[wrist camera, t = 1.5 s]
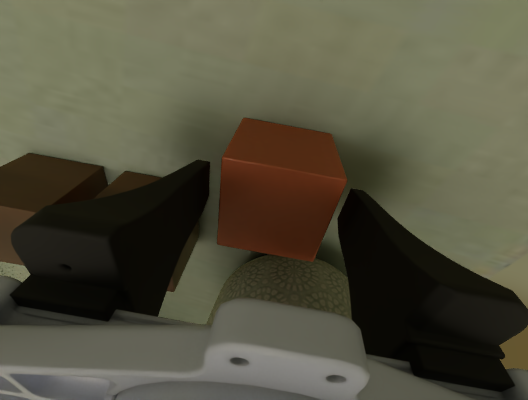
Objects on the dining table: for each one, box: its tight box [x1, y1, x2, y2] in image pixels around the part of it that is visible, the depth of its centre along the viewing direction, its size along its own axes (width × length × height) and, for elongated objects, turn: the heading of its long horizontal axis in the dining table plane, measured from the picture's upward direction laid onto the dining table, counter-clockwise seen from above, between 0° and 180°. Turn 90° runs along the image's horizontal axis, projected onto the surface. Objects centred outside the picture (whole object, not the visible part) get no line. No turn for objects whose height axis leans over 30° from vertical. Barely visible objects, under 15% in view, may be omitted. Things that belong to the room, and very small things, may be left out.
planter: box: [206, 254, 352, 325], centre depth 17 cm, size 12×12×11 cm
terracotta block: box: [217, 118, 347, 262], centre depth 13 cm, size 5×5×5 cm
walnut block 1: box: [0, 153, 108, 266], centre depth 16 cm, size 5×5×5 cm
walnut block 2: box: [94, 171, 199, 292], centre depth 16 cm, size 5×5×5 cm
